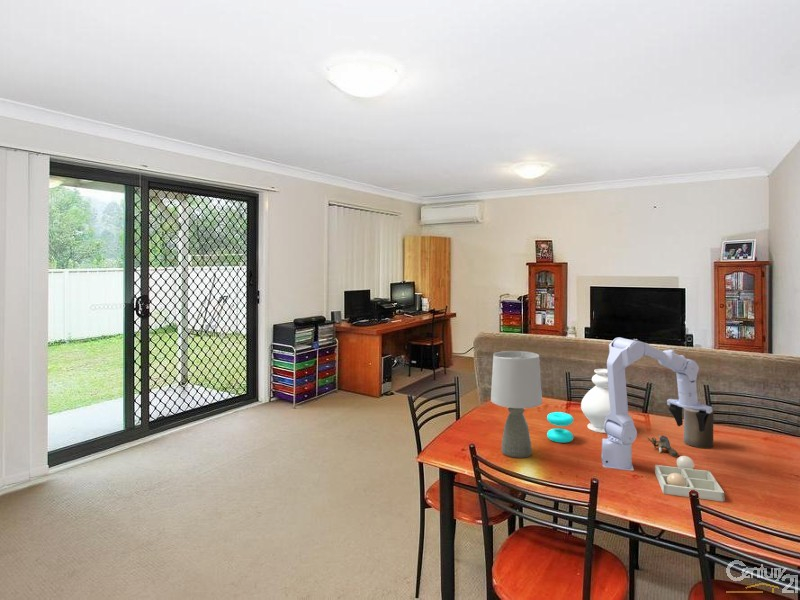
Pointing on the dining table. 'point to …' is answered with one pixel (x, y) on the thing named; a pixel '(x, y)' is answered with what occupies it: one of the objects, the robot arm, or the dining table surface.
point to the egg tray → (690, 483)
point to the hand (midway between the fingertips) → (690, 428)
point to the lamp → (516, 396)
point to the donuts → (558, 433)
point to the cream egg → (685, 462)
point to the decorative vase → (597, 401)
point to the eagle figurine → (663, 445)
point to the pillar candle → (697, 430)
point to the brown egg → (676, 480)
